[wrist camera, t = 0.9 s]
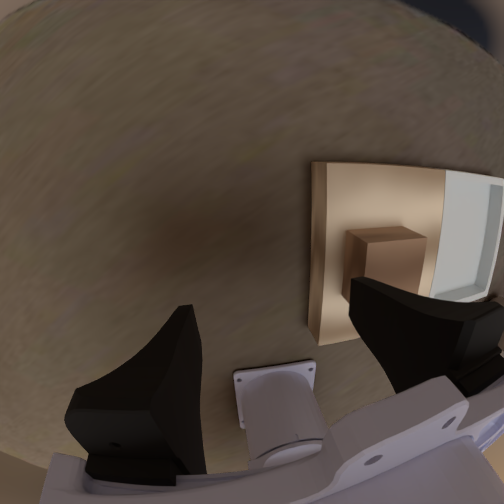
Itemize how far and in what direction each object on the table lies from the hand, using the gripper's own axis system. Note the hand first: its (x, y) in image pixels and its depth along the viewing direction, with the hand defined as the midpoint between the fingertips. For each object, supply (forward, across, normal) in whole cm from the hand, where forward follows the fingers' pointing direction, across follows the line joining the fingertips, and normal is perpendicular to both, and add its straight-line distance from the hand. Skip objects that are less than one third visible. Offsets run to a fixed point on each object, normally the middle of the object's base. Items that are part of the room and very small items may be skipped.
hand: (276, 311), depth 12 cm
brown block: (+7, -9, +2) cm, 11 cm away
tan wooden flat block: (+10, -10, +2) cm, 14 cm away
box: (+10, -22, +2) cm, 24 cm away
